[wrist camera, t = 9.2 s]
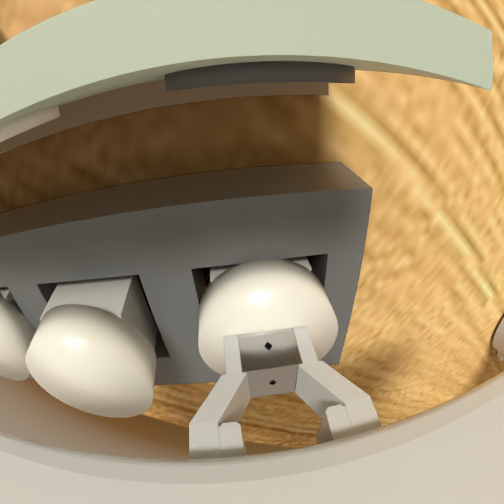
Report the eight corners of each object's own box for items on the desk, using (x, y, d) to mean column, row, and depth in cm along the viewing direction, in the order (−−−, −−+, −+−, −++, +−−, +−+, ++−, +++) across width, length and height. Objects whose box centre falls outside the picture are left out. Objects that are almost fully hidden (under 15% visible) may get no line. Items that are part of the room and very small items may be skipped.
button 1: (31, 252, 12) (-9, 311, 9) (68, 324, 15) (46, 384, 11) (-24, 261, 12) (-60, 311, 8) (12, 324, 15) (-12, 375, 11)
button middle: (146, 253, 11) (121, 341, 8) (174, 339, 14) (169, 419, 11) (44, 266, 11) (2, 339, 7) (86, 342, 14) (66, 412, 10)
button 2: (311, 217, 13) (347, 281, 9) (305, 303, 16) (328, 371, 12) (192, 229, 13) (184, 301, 9) (209, 315, 16) (210, 387, 12)
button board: (341, 162, 12) (372, 188, 10) (324, 325, 18) (338, 363, 15) (-47, 228, 11) (-74, 256, 8) (18, 343, 16) (5, 374, 14)
